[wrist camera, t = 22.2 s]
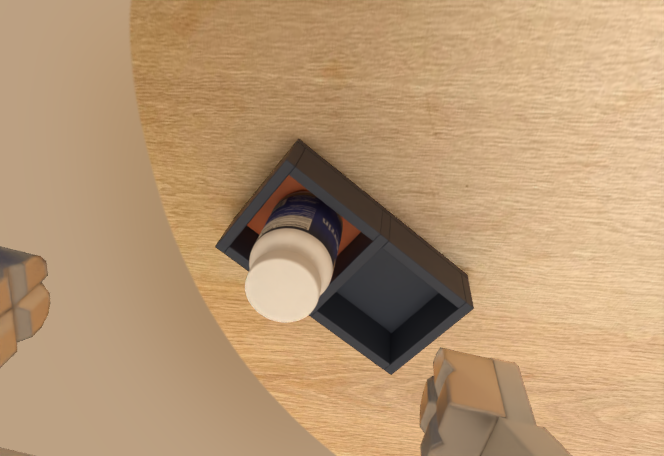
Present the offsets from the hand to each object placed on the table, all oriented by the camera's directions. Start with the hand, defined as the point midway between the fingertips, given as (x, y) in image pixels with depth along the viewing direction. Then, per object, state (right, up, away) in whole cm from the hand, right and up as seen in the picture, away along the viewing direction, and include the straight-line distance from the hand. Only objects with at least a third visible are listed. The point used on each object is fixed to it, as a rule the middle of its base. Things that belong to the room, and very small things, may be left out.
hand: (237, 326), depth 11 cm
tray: (+3, 0, +32) cm, 32 cm away
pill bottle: (0, +3, +30) cm, 30 cm away
